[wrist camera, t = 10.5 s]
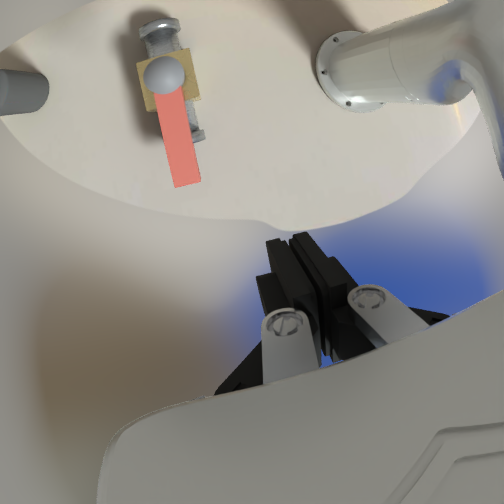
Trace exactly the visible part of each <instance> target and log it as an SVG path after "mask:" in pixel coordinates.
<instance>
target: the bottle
mask: <svg viewBox="0 0 504 504" xmlns="http://www.w3.org/2000/svg"><path fill="white" fill-rule="evenodd" d="M48 94H49V83H48V80H47V79H46V77H44V76H43V75H41V74H36V73H29V72H23V71H14V70H5V69H0V116H4V115H12V114H22V113H31V112H35V111H37V110H39V109H40V108H41V107H42V106H43V105H44V103H45V101H46V100H47V97H48Z"/></svg>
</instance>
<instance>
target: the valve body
mask: <svg viewBox="0 0 504 504" xmlns="http://www.w3.org/2000/svg"><path fill="white" fill-rule="evenodd" d="M180 29H181V28H180V24H179V20H178V19H176V18H163V19H158V20H155V21H152V22H149V23H147V24H145V25H144V26H142V27H141V28H140V29H139V36H140V40H141V41H145V44H146V49H147V54H148V59H147V60H144V61H141V62H138V63H136V66H137V71H138V76H139V80H140V85H141V89H142V93H143V98H144V102H145V106H146V110H147V112H157V107H156V102H155V97H154V92H152V91H150V90H149V89H148V88H147V87H146V85H145V83H144V80H143V74H144V70H145V68H146V67H147V65H148V64H149V63H150V62H151V61H152V60H154V59H156V58H158V57H162V56H169V57H173V58H175V59H176V60H178V61H179V62H180V63H181V65H182V67H183V69H184V72H185V82H184V85H183V86H182V90H183V95H184V100H185V105H186V110H187V115H188V120H189V125H190V130H191V135H192V140H193V143H196V142H199V141H202V140H204V139H206V138H205V134H204V129H202V130H199V126H198V122H197V118H196V114H195V109H194V105H193V101H197V100H201V98H200V93H199V89H198V85H197V80H196V76H195V72H194V67H193V63H192V58H191V54H190V50H189V48H186V49H182V50H181V48H180V43H179V39H178V34H177V33H178V32H179V31H180ZM163 141H164V140H163Z"/></svg>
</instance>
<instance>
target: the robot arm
mask: <svg viewBox="0 0 504 504" xmlns="http://www.w3.org/2000/svg"><path fill="white" fill-rule="evenodd" d="M333 40H334V41H335V42H334V41H333ZM321 71H323V73H324V74H322V73H321ZM316 72H317V77H318V80H319V82H320V85H321V86H322V88H323V90H324V92H325V93H326V94H327V95H328V97H329V98H330V99H331V100H332V101H333V102H335V103H336V104H337V105H339V106H340V107H342V108H344V109H346V110H349V111H353V112H358V113H367V112H373V111H376V110H378V109H380V108H381V107H383V106H384V105H385V104H386V103H412V104H427V105H451V104H454V103H457V102H459V101H461V100H462V99H464V98H465V97H466V96H467V95H468V94H469V93H470V92H471V90H472V89H473V91H474V93H475V95H476V98H477V100H478V103H479V105H480V108H481V110H482V112H483V115H484V118H485V121H486V124H487V127H488V131H489V134H490V137H491V141H492V144H493V148H494V152H495V155H496V159H497V163H498V166H499V169H500V172H501V175H502V178H503V179H504V0H454V1H452V2H450V3H447V4H445V5H442V6H440V7H438V8H435V9H432V10H430V11H427V12H424V13H421V14H418V15H415V16H411V17H408V18H405V19H403V20H399V21H396V22H393V23H390V24H388V25H385V26H382V27H380V28H377V29H374V30H372V31H369V32H366V33H361V32H357V31H342V32H339V33H336V34H334V35H332V36H330V37H329V38H328V39H326V40H325V41H324V43H323V44H322V45H321V47H320V49H319V51H318V53H317V57H316ZM346 102H347V105H346ZM266 247H267V252H268V257H269V262H270V267H271V272H272V273H268V274H264V275H260V276H256V281H257V286H258V290H259V294H260V298H261V302H262V306H263V310H264V313H265V316H266V317H265V318H264V320H263V321H262V325H261V335H262V340H261V341H260V343H259V344H258V345H257V346H256V347H255V348H254V349H253V350H252V351H251V353H250V354H249V355H248V356H247V357H246V358H245V359H244V360H243V361H242V363H241V364H240V365H239V366H238V367H237V368H236V369H235V370H234V371H233V372H232V374H230V375H229V377H228V378H227V379H226V380H225V381H224V382H223V383H222V384H221V385H220V386H219V387H218V389H217V390H216V392H215V394H214V396H211V397H207V398H205V396H201V397H198V398H196V399H193V400H190V401H187V402H184V403H180V404H176V405H172V406H168V407H165V408H163V409H160V410H157V411H154V412H151V413H149V414H147V415H145V416H142V417H140V418H138V419H136V420H134V421H132V422H131V423H129V424H127V425H126V426H124V427H123V428H122V429H120V430H119V431H118V432H117V433H116V434H115V435H114V436H113V438H112V439H111V441H110V443H109V445H108V447H107V449H106V452H105V455H104V459H103V462H102V466H101V471H100V476H99V482H98V491H97V500H96V504H504V290H502V291H500V292H498V293H496V294H494V295H492V296H490V297H488V298H486V299H484V300H482V301H480V302H479V303H476V304H475V305H473V306H471V307H469V308H467V309H465V310H463V311H461V312H459V313H456V314H453V315H452V316H451V317H450V316H449V315H446V314H442V313H437V312H432V311H426V310H422V309H416V308H411V307H407V306H405V305H404V304H403V303H402V302H401V301H399V300H398V299H397V298H396V297H395V296H394V295H392V294H391V293H390V292H389V291H387V290H386V289H384V288H383V287H381V286H377V285H370V284H369V285H362V286H358V284H357V283H356V282H355V281H354V279H352V277H351V276H350V275H349V273H348V272H347V271H346V270H345V269H344V267H343V266H342V265H341V264H340V262H339V261H338V260H337V259H336V258H335V257H333V256H332V257H329V258H327V256H326V255H325V254H324V252H323V251H322V250H321V249H320V248H319V246H318V245H317V244H316V243H315V241H314V240H313V239H312V238H311V236H310V235H309V234H308V233H307V232H302V233H298V234H294V235H293V238H292V239H289V245H288V244H287V242H286V241H285V240H284V241H281V240H280V239H279V238H277V239H273V240H269V241H266ZM321 349H322V351H323V354H324V355H325V356H328V355H330V357H331V359H332V362H333V363H334V362H337V361H340V360H344V361H341V362H338V363H335V364H332V365H329V366H326V367H323V368H320V366H321V365H322V363H321ZM319 368H320V369H319Z"/></svg>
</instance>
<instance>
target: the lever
mask: <svg viewBox="0 0 504 504" xmlns="http://www.w3.org/2000/svg"><path fill="white" fill-rule="evenodd" d="M143 80H144V83H145V85H146V87H147V88H148V89H149V90H150V91H152V92H154V97H155V102H156V107H157V112H158V117H159V122H160V126H161V131H162V135H163V140H164V144H165V149H166V153H167V158H168V162H169V166H170V170H171V174H172V178H173V182H174V186H175V188H177V187H181V186H185V185H189V184H194V183H198V182H201V177H200V172H199V168H198V163H197V158H196V154H195V149H194V144H193V140H192V135H191V130H190V125H189V120H188V115H187V110H186V105H185V100H184V95H183V90H182V86H183V85H184V82H185V72H184V69H183V67H182V65H181V63H180V62H179V61H178V60H176V59H175V58H173V57H169V56H162V57H158V58H156V59H154V60H152V61H151V62H150V63H149V64H148V65H147V67H146V68H145V70H144V74H143Z"/></svg>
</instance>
